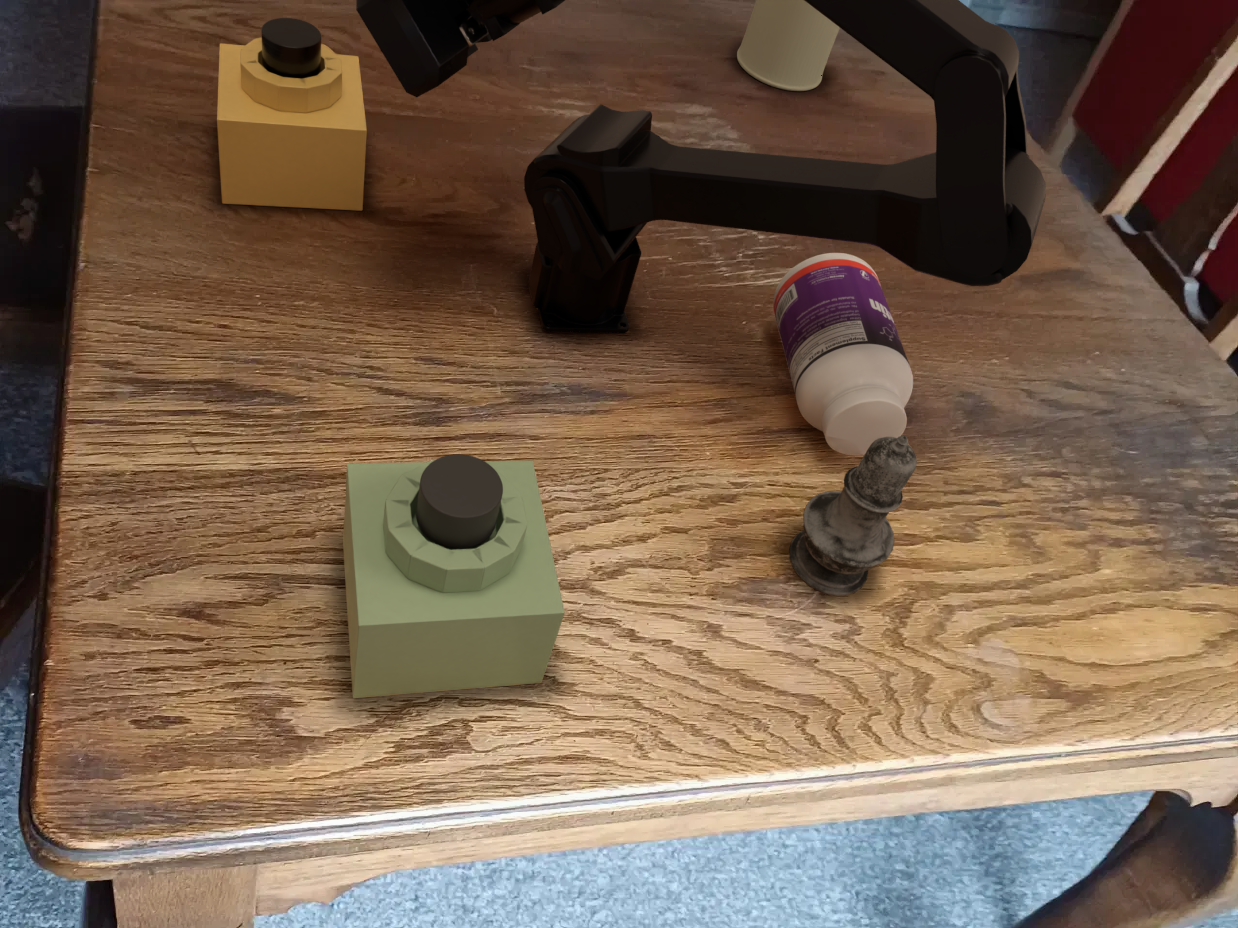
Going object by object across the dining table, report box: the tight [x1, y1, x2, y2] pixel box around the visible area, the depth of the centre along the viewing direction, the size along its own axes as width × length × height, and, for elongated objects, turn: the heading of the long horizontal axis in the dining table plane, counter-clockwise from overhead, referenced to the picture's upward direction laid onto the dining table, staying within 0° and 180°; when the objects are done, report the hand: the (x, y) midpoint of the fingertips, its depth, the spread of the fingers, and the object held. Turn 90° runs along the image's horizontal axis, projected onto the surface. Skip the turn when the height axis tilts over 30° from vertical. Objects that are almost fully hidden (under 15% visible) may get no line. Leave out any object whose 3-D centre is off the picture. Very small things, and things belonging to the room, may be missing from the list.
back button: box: [260, 17, 322, 79], centre depth 76 cm, size 4×4×3 cm
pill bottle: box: [772, 252, 914, 456], centre depth 77 cm, size 8×8×14 cm
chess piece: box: [788, 435, 918, 597], centre depth 64 cm, size 6×6×12 cm
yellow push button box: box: [216, 36, 368, 212], centre depth 80 cm, size 10×10×9 cm
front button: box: [416, 453, 503, 549], centre depth 53 cm, size 4×4×2 cm
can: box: [736, 0, 841, 92], centre depth 108 cm, size 9×9×12 cm
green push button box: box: [342, 459, 566, 699], centre depth 57 cm, size 10×10×9 cm
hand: (387, 42), depth 72 cm, fingers closed
